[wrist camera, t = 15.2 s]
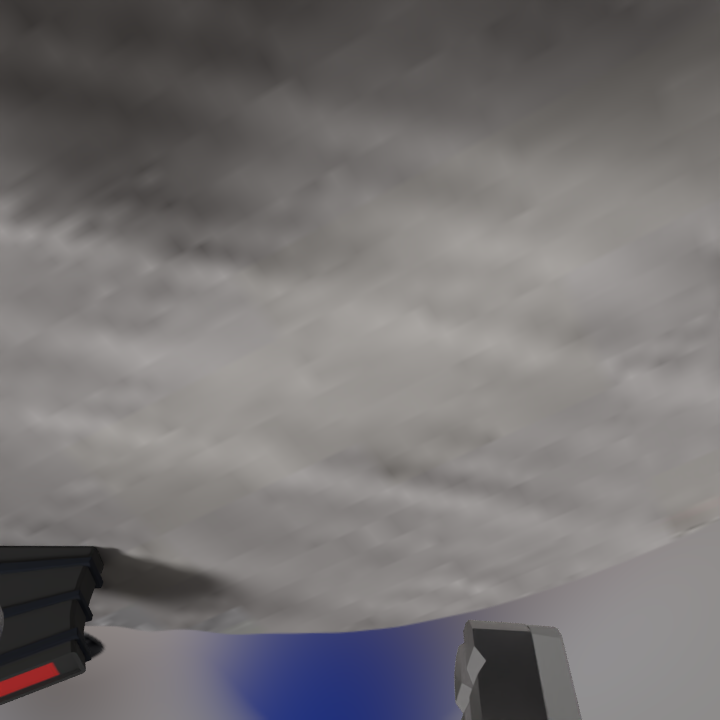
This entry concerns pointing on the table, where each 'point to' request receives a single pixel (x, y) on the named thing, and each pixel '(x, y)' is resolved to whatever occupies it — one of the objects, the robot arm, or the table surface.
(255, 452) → the table surface
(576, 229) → the table surface
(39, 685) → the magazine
